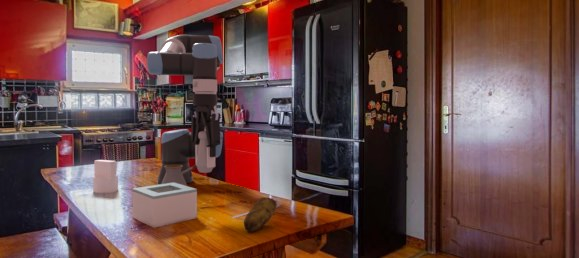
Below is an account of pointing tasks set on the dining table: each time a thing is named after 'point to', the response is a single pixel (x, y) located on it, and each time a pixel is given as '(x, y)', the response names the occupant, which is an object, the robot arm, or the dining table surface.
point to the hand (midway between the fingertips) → (205, 165)
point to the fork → (248, 212)
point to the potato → (260, 214)
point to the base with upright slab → (105, 176)
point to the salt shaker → (202, 154)
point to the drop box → (164, 204)
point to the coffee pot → (175, 174)
